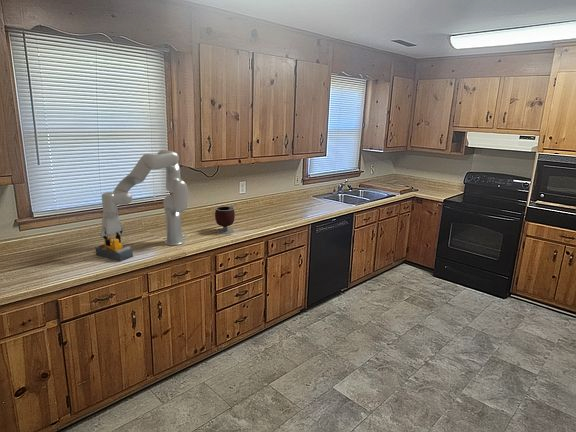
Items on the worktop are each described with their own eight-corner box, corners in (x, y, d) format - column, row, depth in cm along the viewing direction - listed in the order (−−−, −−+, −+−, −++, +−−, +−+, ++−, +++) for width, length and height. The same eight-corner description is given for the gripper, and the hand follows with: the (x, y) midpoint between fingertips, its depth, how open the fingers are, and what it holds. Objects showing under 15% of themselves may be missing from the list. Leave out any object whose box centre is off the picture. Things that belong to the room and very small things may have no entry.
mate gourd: (219, 235, 272) (218, 207, 267) (212, 229, 284) (212, 203, 279) (239, 232, 279) (239, 205, 274) (232, 227, 291) (232, 201, 286)
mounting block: (109, 250, 237) (108, 241, 235) (133, 256, 228) (132, 246, 227) (96, 255, 229) (95, 245, 228) (120, 261, 221) (119, 251, 219)
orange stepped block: (122, 249, 226) (121, 238, 224) (115, 251, 222) (114, 240, 221) (112, 244, 233) (111, 234, 231) (105, 246, 230) (104, 235, 228)
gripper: (118, 210, 231) (121, 238, 236) (92, 216, 216) (96, 247, 221) (127, 211, 228) (130, 240, 233) (102, 218, 213) (105, 249, 218)
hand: (113, 243), depth 227 cm, fingers open, 6 cm apart
